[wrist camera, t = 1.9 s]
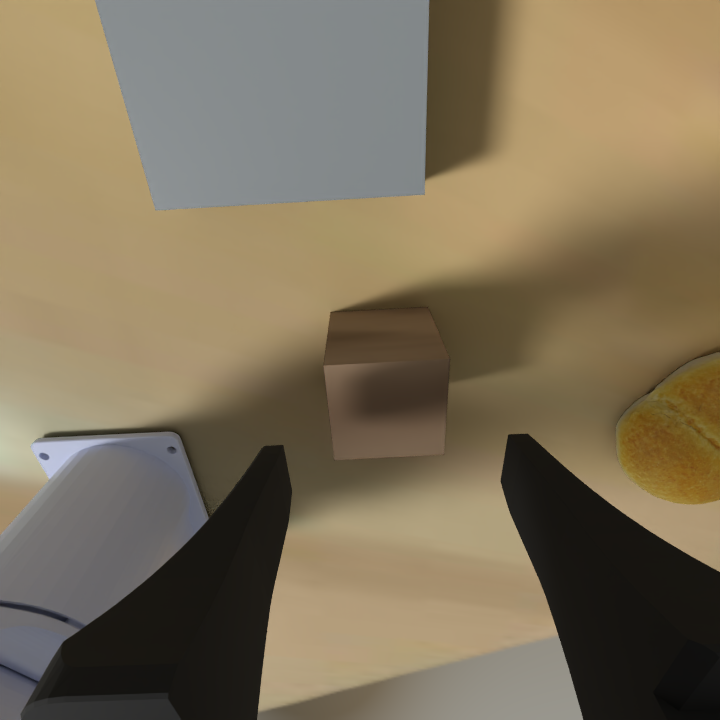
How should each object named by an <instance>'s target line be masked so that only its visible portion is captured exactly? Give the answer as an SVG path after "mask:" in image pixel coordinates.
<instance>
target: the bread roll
mask: <svg viewBox="0 0 720 720" xmlns="http://www.w3.org/2000/svg"><path fill="white" fill-rule="evenodd" d="M615 435H616V452H617V457H618V460H619V463H620V466H621V468H622V470H623V471H624V473H625V474H626V475H627V476H628V477H629V479H630V480H632V481H633V482H634V483H635V484H637V485H638V486H639V487H641V488H642V489H643V490H645V491H647V492H648V493H650V494H652V495H653V496H656V497H658V498H661V499H664V500H667V501H670V502H673V503H680V504H704V503H708V502H713V501H717V500H720V352H717V353H713V354H710V355H707V356H704V357H700V358H697V359H694V360H692V361H690V362H688V363H686V364H685V365H683V366H682V367H680V368H679V369H677V370H676V371H674V372H673V373H672V374H670V375H669V376H668V377H667V378H666V379H665V380H664V381H662V382H661V383H660V384H659V385H657V386H656V388H655V389H654V391H652V392H651V393H649V394H647V395H644V396H643V397H641V398H639V399H638V400H637V401H636V402H635V403H633V404H632V405H631V406H630V407H629V408H628V409H627V410H626V411H625V412H624V414H623V415H622V416H621V418H620V419H619V421H618V423H617V426H616V430H615Z"/></svg>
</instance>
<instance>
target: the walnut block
mask: <svg viewBox="0 0 720 720" xmlns="http://www.w3.org/2000/svg"><path fill="white" fill-rule="evenodd" d="M323 366H324V375H325V384H326V392H327V401H328V410H329V418H330V427H331V436H332V444H333V453H334V460H349V459H369V458H388V457H408V456H428V455H444V447H445V431H446V415H447V399H448V383H449V368H450V358H449V355H448V353H447V351H446V348H445V346H444V344H443V341H442V339H441V337H440V334H439V332H438V330H437V327H436V325H435V323H434V320H433V318H432V316H431V313H430V311H429V309H428V307H415V308H397V309H379V310H361V311H343V312H331V313H330V320H329V328H328V335H327V343H326V350H325V358H324V365H323Z"/></svg>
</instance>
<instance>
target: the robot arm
mask: <svg viewBox="0 0 720 720" xmlns="http://www.w3.org/2000/svg"><path fill="white" fill-rule="evenodd" d="M170 446H171V447H174V448H175V449H173V448H171V447H170ZM31 449H32V451H33V453H34V454H35V456H36V458H37V459H38V461H39V463H40V464H41V466H42V468H43V469H44V471H45V473H46V474H47V476H48V478H49V480H48V482H47V483H46V484H45V485H44V486H43V487H42V488H41V490H40V491H39V492H38V493H37V494H36V495H35V496H34V497H33V499H32V500H31V501H30V502H29V503H28V504H27V505H26V507H25V508H24V509H23V510H22V511H21V512H20V513H19V514H18V516H17V517H16V518H15V519H14V520H13V521H12V522H11V523H10V525H9V526H8V527H7V528H6V529H5V530H4V531H3V533H2V534H1V535H0V720H257V714H258V704H259V695H260V685H261V676H262V667H263V659H264V650H265V642H266V634H267V627H268V619H269V612H270V605H271V599H272V594H273V589H274V584H275V580H276V576H277V571H278V567H279V562H280V558H281V554H282V549H283V545H284V540H285V536H286V531H287V527H288V522H289V514H290V505H291V495H292V488H291V483H290V478H289V473H288V467H287V462H286V457H285V452H284V447H283V445H276V446H264V447H263V448H262V449H261V451H260V452H259V453H258V455H257V456H256V458H255V459H254V461H253V462H252V464H251V465H250V467H249V468H248V469H247V471H246V472H245V474H244V475H243V476H242V478H241V479H240V480H239V482H238V483H237V484H236V486H235V487H234V488H233V490H232V491H231V492H230V494H229V495H228V496H227V497H226V499H225V500H224V501H223V502H222V504H221V505H220V506H219V507H218V508H217V509H216V511H215V512H214V513H213V514H212V515H211V517H210V518H209V517H208V514H207V512H206V509H205V506H204V503H203V500H202V497H201V494H200V492H199V489H198V486H197V483H196V480H195V477H194V475H193V472H192V469H191V466H190V463H189V460H188V458H187V455H186V452H185V449H184V446H183V443H182V441H181V438H180V436H179V435H178V434H176V433H174V432H152V433H132V434H112V435H91V436H71V437H51V438H38V439H36V440H35V441H34V442H33V443H32V444H31ZM501 484H502V488H503V491H504V495H505V498H506V502H507V505H508V508H509V511H510V514H511V516H512V518H513V521H514V523H515V525H516V528H517V530H518V532H519V535H520V537H521V539H522V542H523V544H524V546H525V548H526V551H527V553H528V555H529V557H530V560H531V562H532V564H533V566H534V569H535V571H536V573H537V576H538V578H539V580H540V583H541V585H542V588H543V590H544V593H545V595H546V598H547V601H548V604H549V607H550V610H551V613H552V616H553V619H554V623H555V626H556V629H557V632H558V635H559V638H560V641H561V645H562V648H563V651H564V654H565V657H566V661H567V664H568V667H569V670H570V674H571V677H572V681H573V684H574V688H575V691H576V695H577V698H578V702H579V705H580V709H581V712H582V716H583V720H720V572H719V571H717V570H715V569H713V568H711V567H709V566H707V565H706V564H704V563H702V562H700V561H698V560H697V559H695V558H693V557H691V556H690V555H688V554H686V553H684V552H683V551H681V550H679V549H678V548H676V547H674V546H673V545H671V544H669V543H668V542H666V541H664V540H663V539H661V538H659V537H658V536H656V535H655V534H653V533H652V532H650V531H648V530H647V529H645V528H644V527H643V526H641V525H640V524H638V523H637V522H635V521H634V520H632V519H631V518H629V517H628V516H626V515H625V514H623V513H622V512H621V511H619V510H618V509H616V508H615V507H614V506H612V505H611V504H610V503H608V502H607V501H606V500H605V499H603V498H602V497H601V496H599V495H598V494H597V493H595V492H594V491H593V490H592V489H590V488H589V487H588V486H587V485H586V484H584V483H583V482H582V481H581V480H579V479H578V478H577V477H576V476H575V475H574V474H572V473H571V472H570V471H569V470H568V469H567V468H565V467H564V466H563V465H562V464H561V463H560V462H559V461H557V460H556V459H555V458H554V457H553V456H552V455H551V454H550V453H549V452H547V451H546V450H545V449H544V448H543V447H542V446H541V445H540V444H539V443H538V442H536V441H535V440H534V439H533V438H532V437H531V436H530V435H529V434H511V435H508V439H507V445H506V451H505V458H504V464H503V470H502V476H501Z"/></svg>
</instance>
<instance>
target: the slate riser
mask: <svg viewBox="0 0 720 720" xmlns="http://www.w3.org/2000/svg"><path fill="white" fill-rule="evenodd" d="M95 2H96V5H97V9H98V12H99V16H100V19H101V23H102V26H103V30H104V33H105V36H106V40H107V43H108V47H109V50H110V54H111V57H112V61H113V64H114V68H115V71H116V75H117V78H118V82H119V85H120V89H121V92H122V95H123V99H124V102H125V106H126V109H127V113H128V116H129V120H130V123H131V127H132V130H133V134H134V137H135V141H136V144H137V147H138V151H139V154H140V158H141V161H142V165H143V168H144V172H145V175H146V179H147V182H148V186H149V189H150V193H151V196H152V200H153V203H154V206H155V210H171V209H188V208H205V207H222V206H239V205H256V204H273V203H290V202H307V201H324V200H341V199H358V198H375V197H392V196H409V195H425V154H426V112H427V70H428V29H429V0H95Z"/></svg>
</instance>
